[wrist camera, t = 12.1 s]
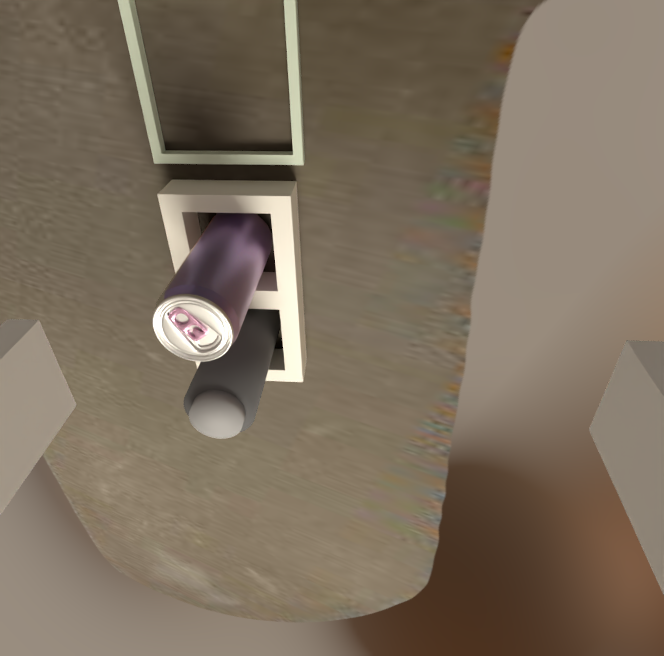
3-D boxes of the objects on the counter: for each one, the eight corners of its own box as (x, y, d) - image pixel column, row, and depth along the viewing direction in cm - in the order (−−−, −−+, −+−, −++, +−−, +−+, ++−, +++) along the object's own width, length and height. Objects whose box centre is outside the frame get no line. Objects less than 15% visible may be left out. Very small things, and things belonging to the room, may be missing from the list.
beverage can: (241, 191, 43) (188, 278, 31) (286, 241, 46) (253, 339, 34) (196, 228, 46) (131, 322, 34) (241, 274, 48) (195, 376, 36)
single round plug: (219, 294, 50) (172, 391, 39) (278, 296, 50) (247, 394, 38) (227, 341, 54) (186, 443, 42) (282, 343, 53) (256, 446, 42)
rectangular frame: (119, -21, 35) (113, -20, 34) (296, -24, 34) (294, -24, 33) (158, 159, 42) (154, 163, 42) (304, 161, 41) (303, 164, 41)
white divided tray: (171, 179, 43) (157, 194, 40) (296, 181, 42) (290, 196, 40) (208, 356, 55) (199, 377, 52) (306, 360, 54) (302, 382, 51)
